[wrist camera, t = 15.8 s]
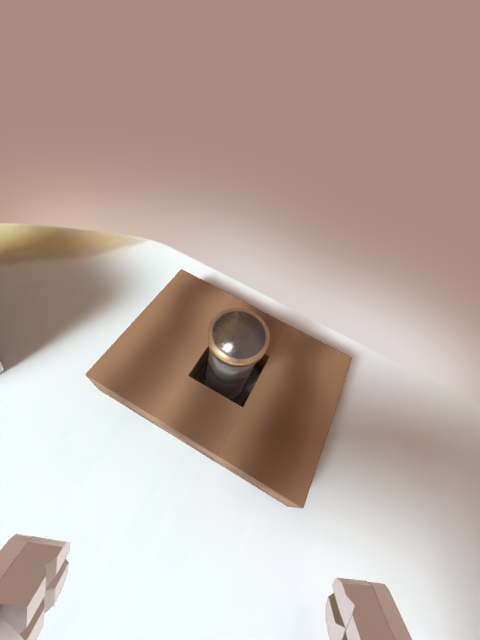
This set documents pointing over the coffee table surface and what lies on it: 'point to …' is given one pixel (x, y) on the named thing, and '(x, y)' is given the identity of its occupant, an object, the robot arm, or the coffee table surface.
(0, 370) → the tea box
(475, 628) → the coffee table surface
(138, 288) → the coffee table surface
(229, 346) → the grey upright cylinder
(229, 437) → the socket block
